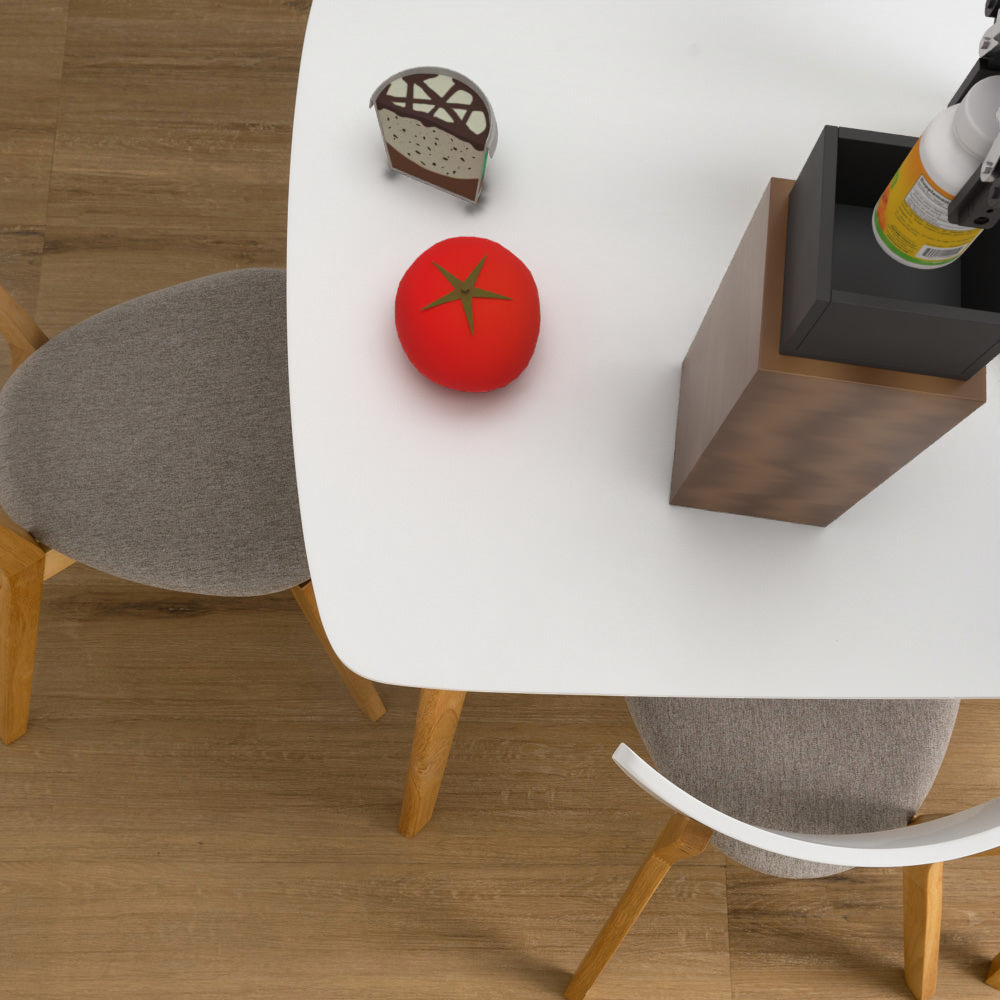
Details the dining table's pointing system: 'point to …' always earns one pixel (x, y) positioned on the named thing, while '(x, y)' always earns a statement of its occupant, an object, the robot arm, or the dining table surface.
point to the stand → (792, 402)
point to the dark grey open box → (878, 272)
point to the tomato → (468, 314)
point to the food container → (437, 128)
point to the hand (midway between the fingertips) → (966, 167)
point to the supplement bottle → (937, 182)
